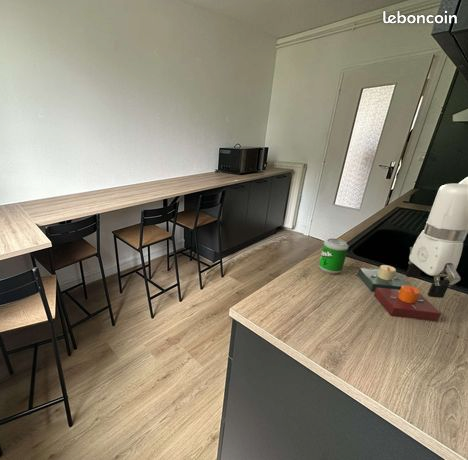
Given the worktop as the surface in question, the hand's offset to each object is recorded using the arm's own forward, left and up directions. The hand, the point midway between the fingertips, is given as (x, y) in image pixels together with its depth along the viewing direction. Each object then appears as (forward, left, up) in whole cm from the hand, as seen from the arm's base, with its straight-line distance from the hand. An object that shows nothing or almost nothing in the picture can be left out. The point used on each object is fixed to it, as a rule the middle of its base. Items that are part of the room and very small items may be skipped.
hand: (422, 286), depth 72 cm
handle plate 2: (+3, 0, -8) cm, 8 cm away
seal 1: (+3, -12, -5) cm, 13 cm away
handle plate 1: (+3, -12, -8) cm, 15 cm away
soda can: (+17, -19, -8) cm, 26 cm away
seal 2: (+3, 0, -5) cm, 6 cm away
